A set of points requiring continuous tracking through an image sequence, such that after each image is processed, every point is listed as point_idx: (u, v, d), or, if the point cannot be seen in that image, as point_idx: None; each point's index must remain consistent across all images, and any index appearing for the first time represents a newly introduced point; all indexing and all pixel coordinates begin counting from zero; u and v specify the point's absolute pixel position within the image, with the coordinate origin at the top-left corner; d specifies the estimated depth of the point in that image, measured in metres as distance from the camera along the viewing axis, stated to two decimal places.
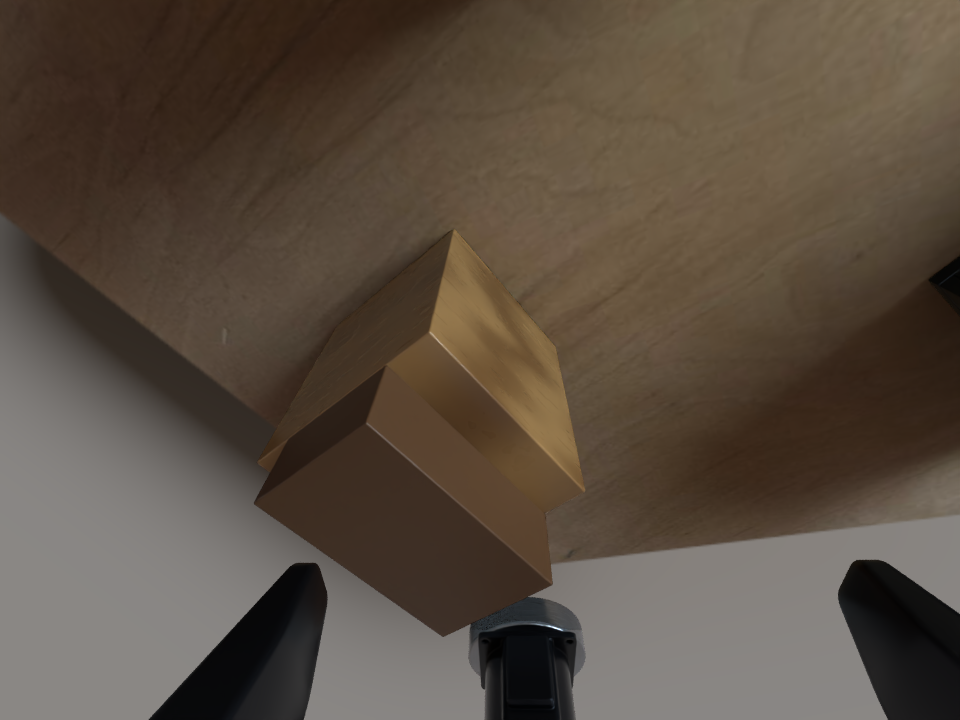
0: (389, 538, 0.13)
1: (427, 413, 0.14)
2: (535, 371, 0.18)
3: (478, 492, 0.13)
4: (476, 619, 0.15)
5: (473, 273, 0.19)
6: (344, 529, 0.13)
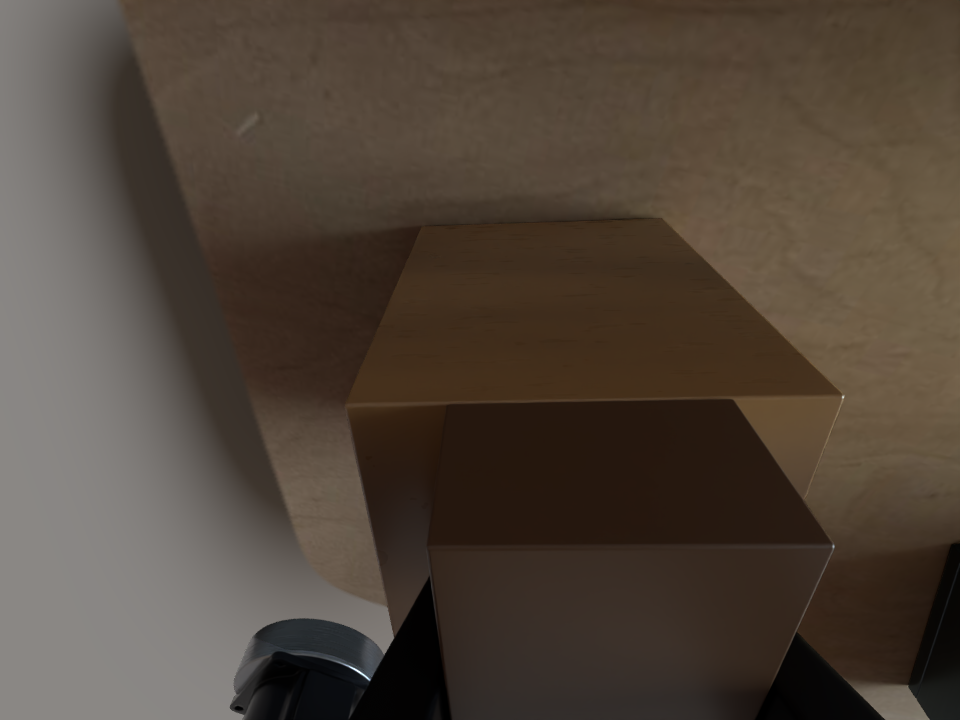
0: (586, 704, 0.07)
1: None
2: None
3: None
4: None
5: None
6: (536, 662, 0.06)
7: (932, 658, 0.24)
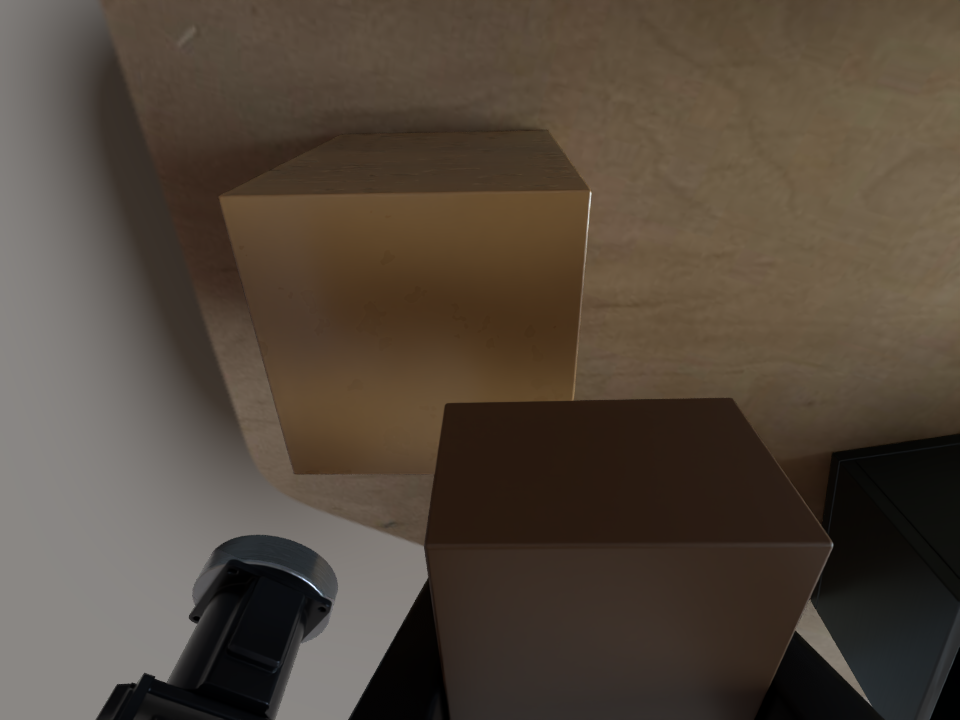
0: (585, 703, 0.07)
1: None
2: None
3: None
4: None
5: None
6: (534, 661, 0.06)
7: (825, 566, 0.27)
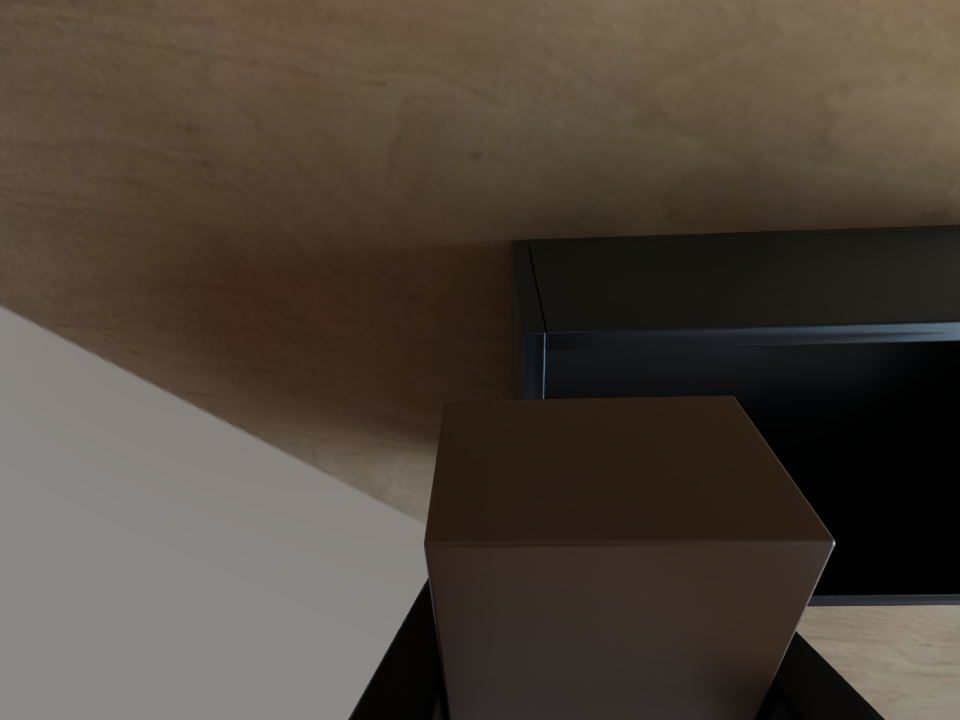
0: (585, 702, 0.07)
1: None
2: None
3: None
4: None
5: None
6: (535, 660, 0.06)
7: None
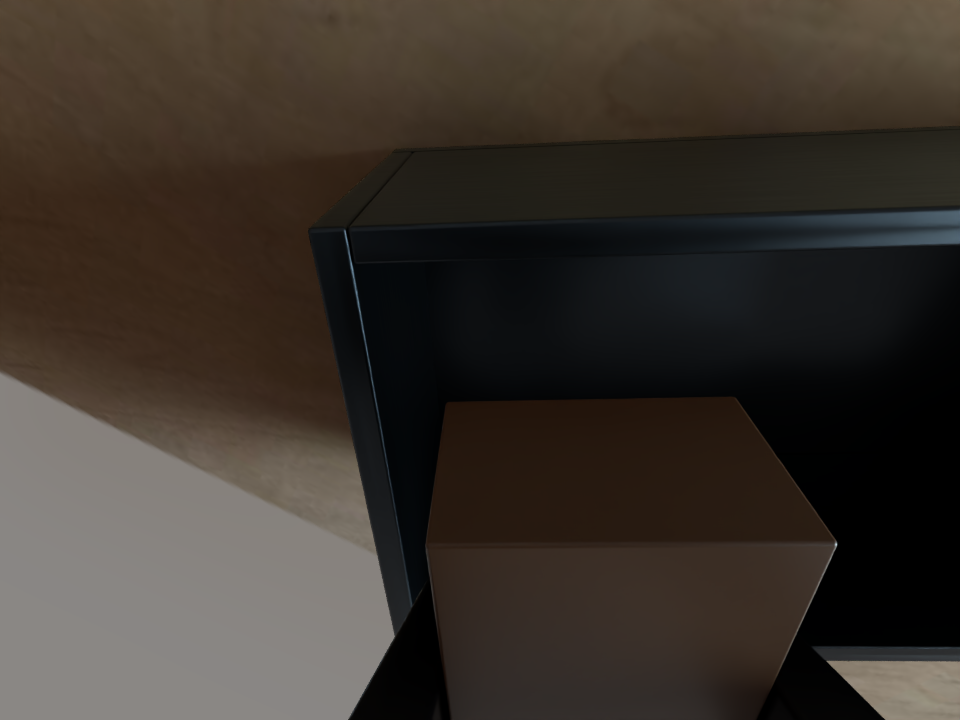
0: (587, 703, 0.06)
1: None
2: None
3: None
4: None
5: None
6: (536, 661, 0.06)
7: None
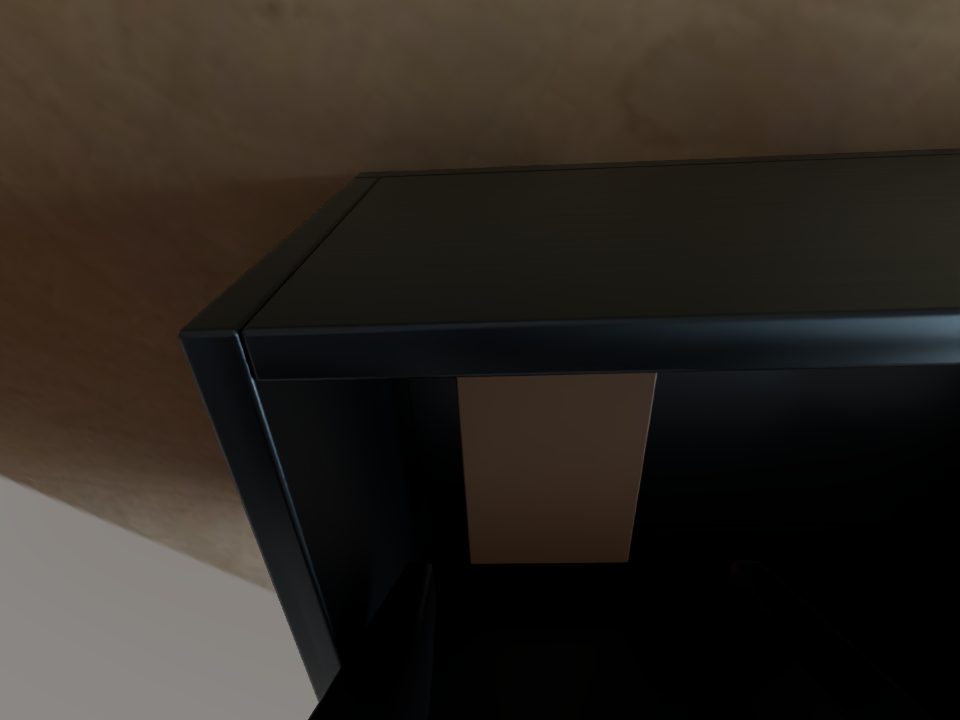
0: (543, 439, 0.11)
1: None
2: None
3: None
4: (523, 561, 0.13)
5: None
6: (512, 404, 0.11)
7: None
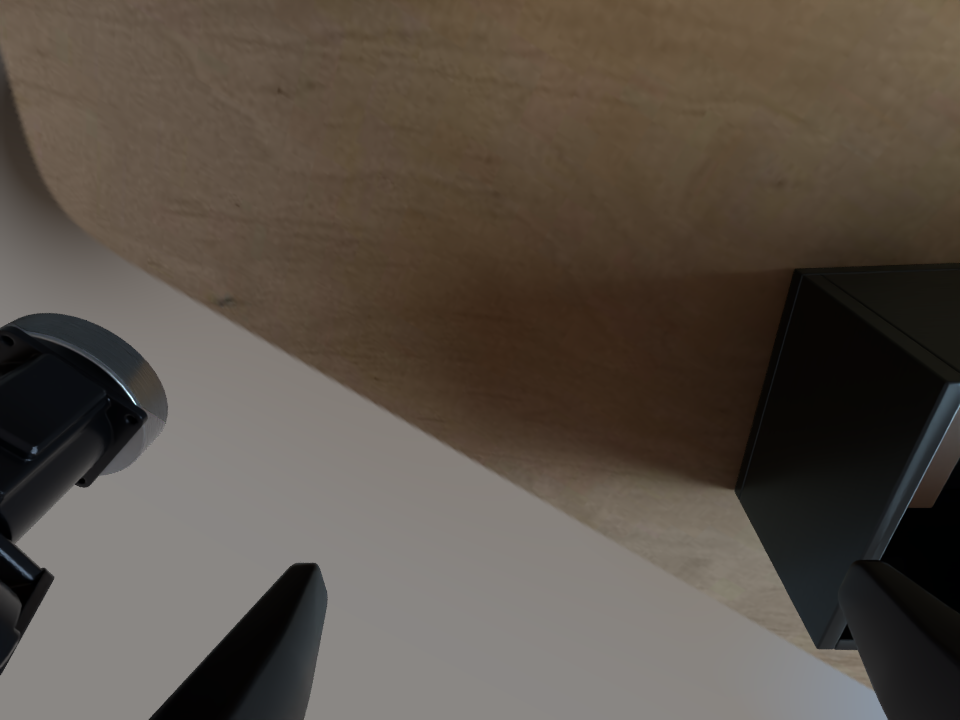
0: None
1: None
2: None
3: None
4: None
5: None
6: None
7: (759, 435, 0.22)
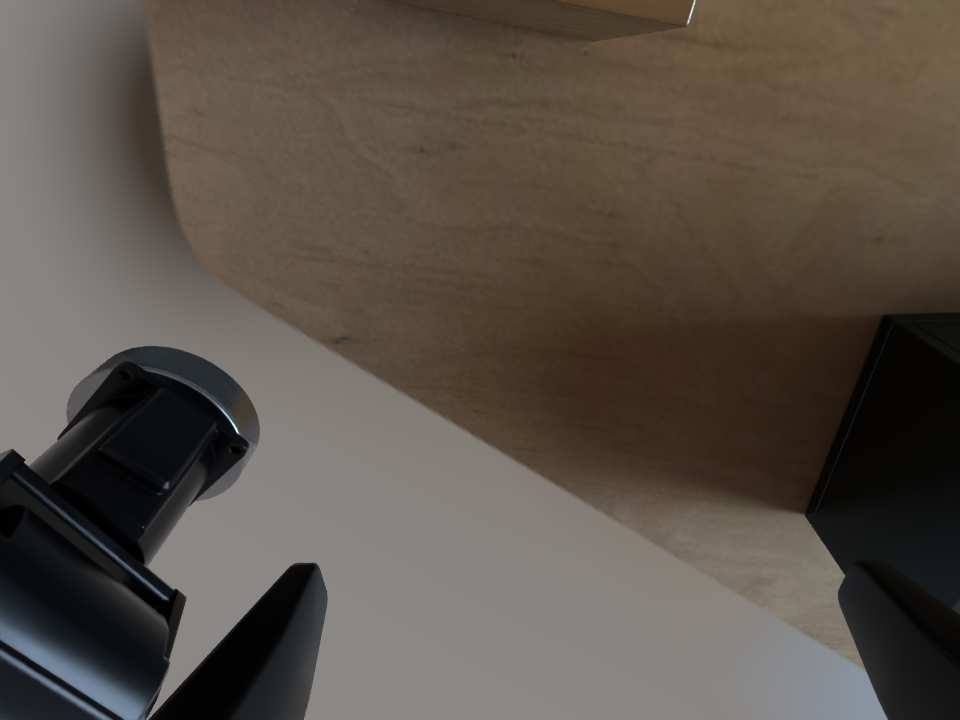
0: None
1: None
2: None
3: None
4: None
5: None
6: None
7: (837, 465, 0.23)
